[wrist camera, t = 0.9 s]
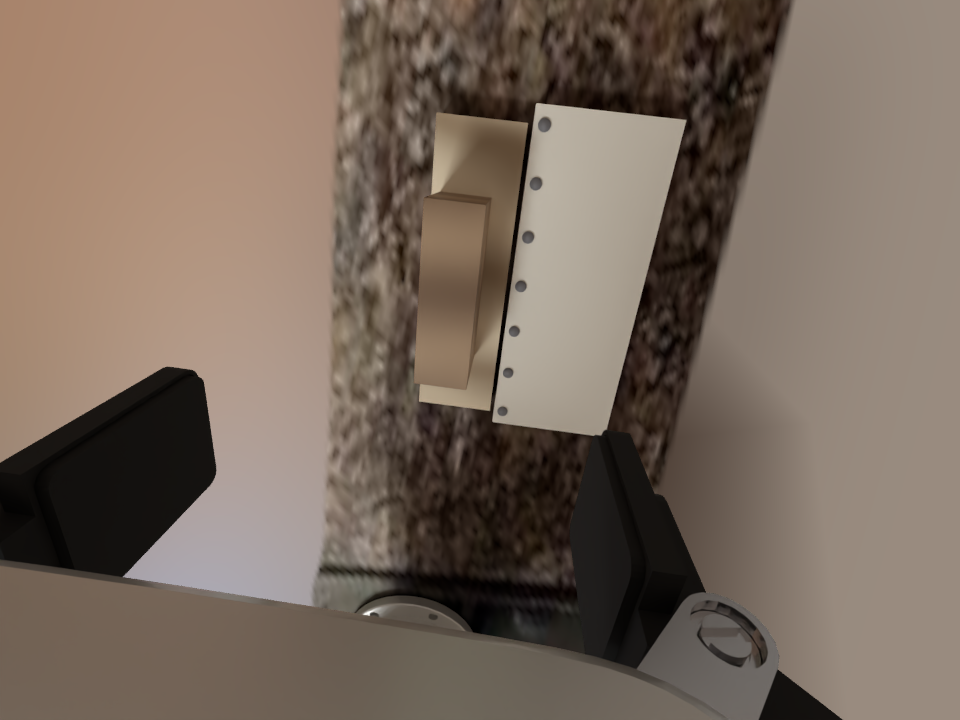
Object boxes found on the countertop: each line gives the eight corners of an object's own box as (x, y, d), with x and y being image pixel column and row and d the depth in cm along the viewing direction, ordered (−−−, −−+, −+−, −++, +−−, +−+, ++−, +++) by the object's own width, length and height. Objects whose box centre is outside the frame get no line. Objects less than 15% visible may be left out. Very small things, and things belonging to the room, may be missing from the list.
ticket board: (601, 425, 34) (604, 438, 32) (493, 411, 34) (492, 422, 32) (677, 122, 26) (687, 120, 24) (535, 106, 26) (536, 102, 24)
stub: (490, 400, 33) (484, 452, 27) (423, 391, 33) (402, 441, 27) (527, 125, 26) (530, 114, 20) (440, 114, 26) (417, 101, 20)
